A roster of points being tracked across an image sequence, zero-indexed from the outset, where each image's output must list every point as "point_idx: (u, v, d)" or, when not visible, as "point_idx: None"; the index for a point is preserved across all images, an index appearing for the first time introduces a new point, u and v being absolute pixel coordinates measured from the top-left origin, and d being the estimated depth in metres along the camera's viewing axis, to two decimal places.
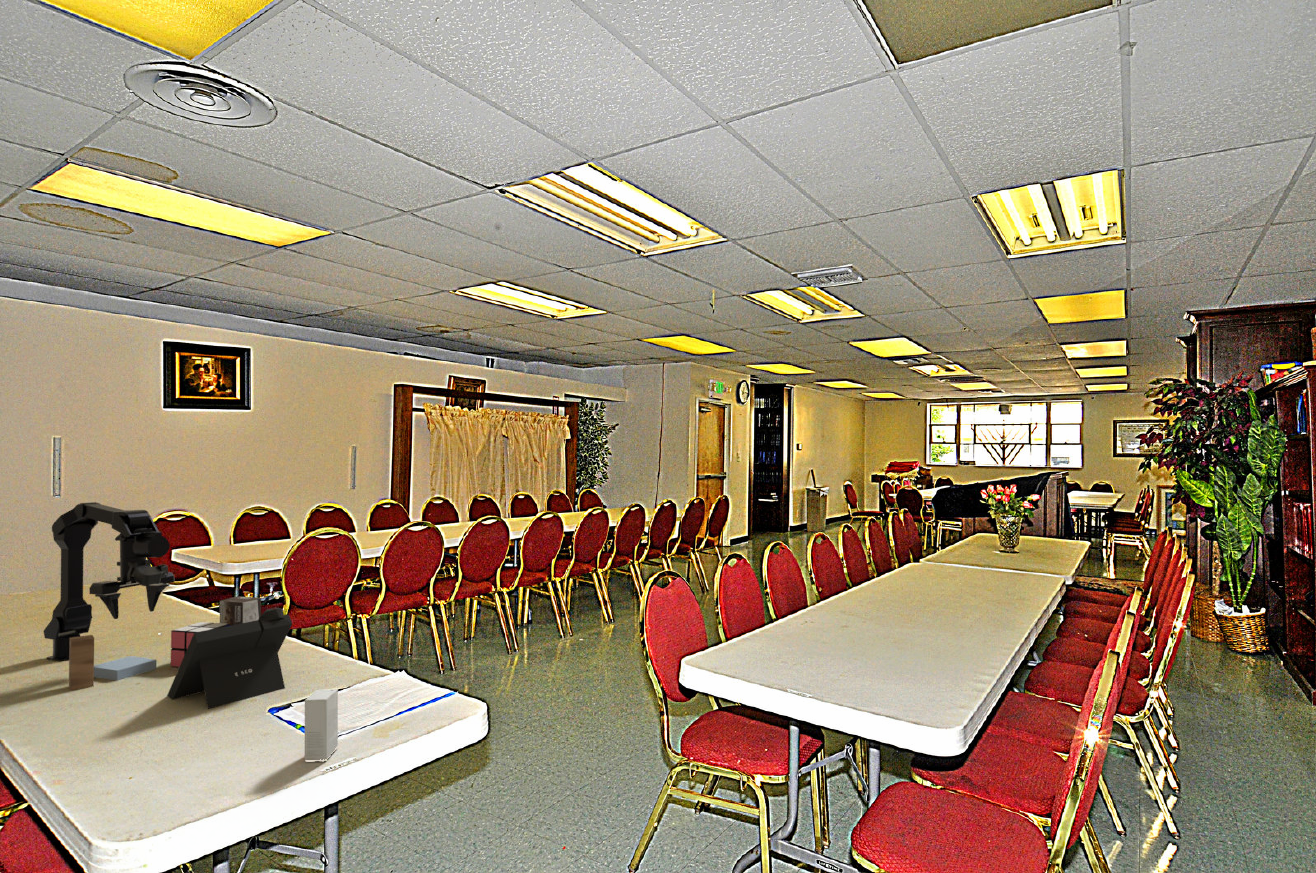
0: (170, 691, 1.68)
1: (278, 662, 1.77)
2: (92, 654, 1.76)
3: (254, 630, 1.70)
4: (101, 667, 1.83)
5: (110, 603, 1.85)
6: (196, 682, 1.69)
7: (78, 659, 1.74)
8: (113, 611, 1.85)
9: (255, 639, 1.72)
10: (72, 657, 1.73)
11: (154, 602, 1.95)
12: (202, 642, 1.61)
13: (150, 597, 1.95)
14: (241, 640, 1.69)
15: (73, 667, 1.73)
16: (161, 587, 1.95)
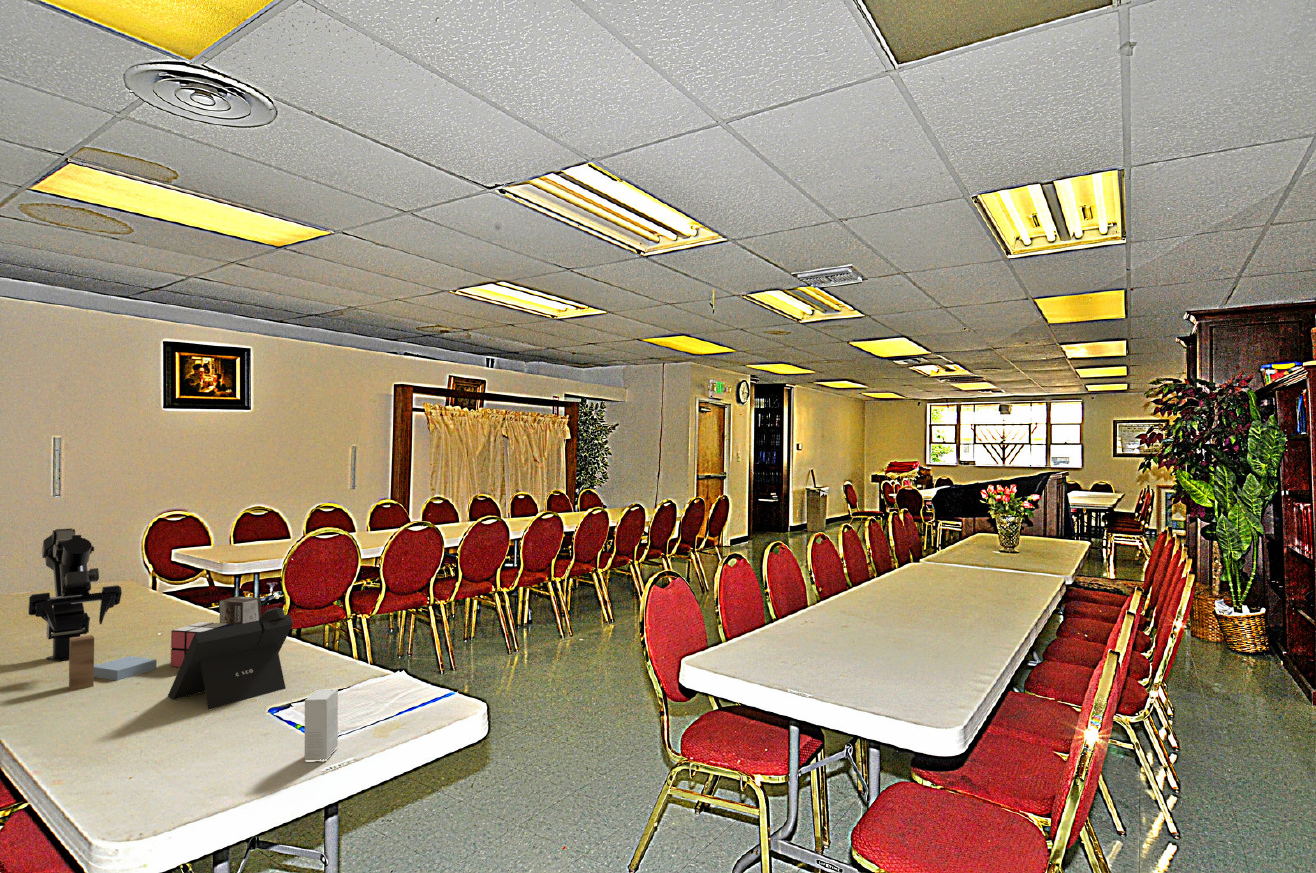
0: (171, 691, 1.68)
1: (279, 662, 1.76)
2: (92, 654, 1.76)
3: (255, 630, 1.70)
4: (101, 667, 1.83)
5: (48, 616, 1.80)
6: (196, 682, 1.68)
7: (78, 659, 1.74)
8: (50, 622, 1.79)
9: (256, 639, 1.72)
10: (72, 657, 1.73)
11: (101, 613, 1.86)
12: (203, 642, 1.61)
13: None
14: (242, 641, 1.69)
15: (73, 667, 1.73)
16: (104, 596, 1.88)
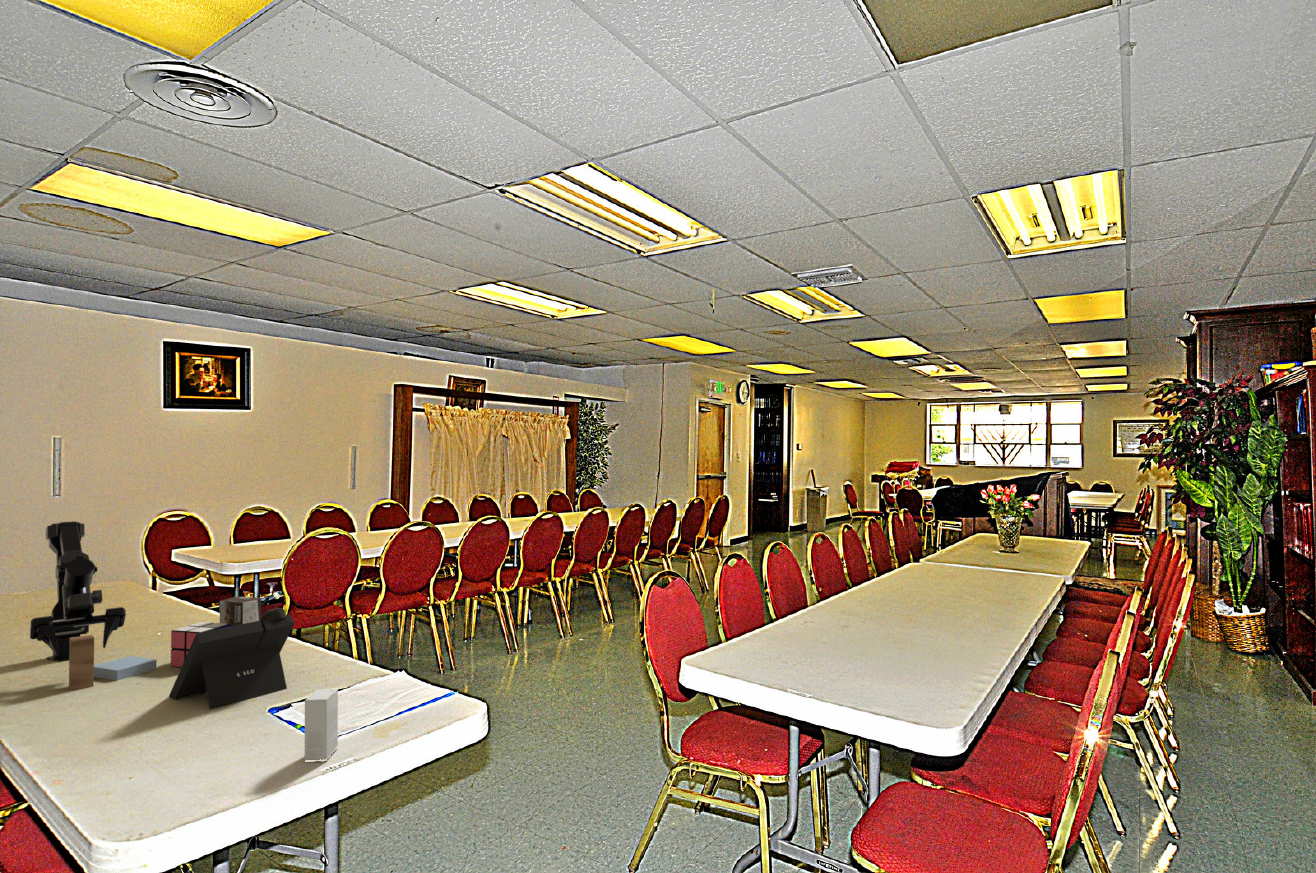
0: (172, 692, 1.68)
1: (280, 662, 1.76)
2: (92, 654, 1.76)
3: (256, 630, 1.70)
4: (101, 667, 1.83)
5: (50, 640, 1.75)
6: (197, 683, 1.68)
7: (78, 659, 1.74)
8: (52, 646, 1.74)
9: (257, 639, 1.72)
10: (72, 657, 1.73)
11: (105, 636, 1.81)
12: (205, 643, 1.61)
13: (104, 635, 1.83)
14: (243, 641, 1.69)
15: (73, 667, 1.73)
16: (108, 619, 1.83)
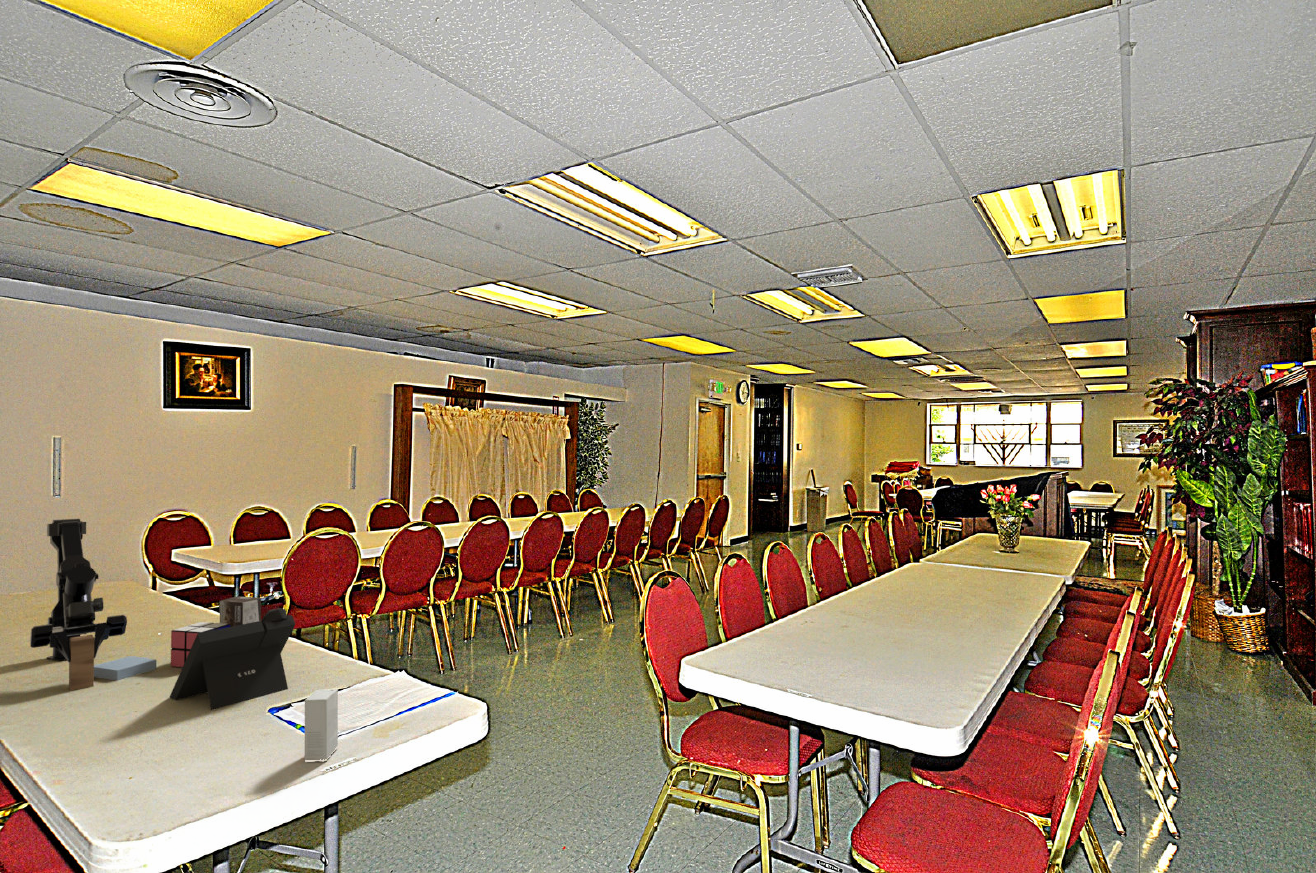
0: (173, 692, 1.67)
1: (281, 663, 1.76)
2: (92, 654, 1.76)
3: (257, 631, 1.70)
4: (101, 667, 1.83)
5: None
6: (198, 683, 1.68)
7: (78, 659, 1.74)
8: (65, 653, 1.74)
9: (258, 640, 1.72)
10: (72, 657, 1.73)
11: (95, 646, 1.78)
12: (206, 643, 1.60)
13: None
14: (244, 641, 1.69)
15: (73, 667, 1.73)
16: (98, 628, 1.80)
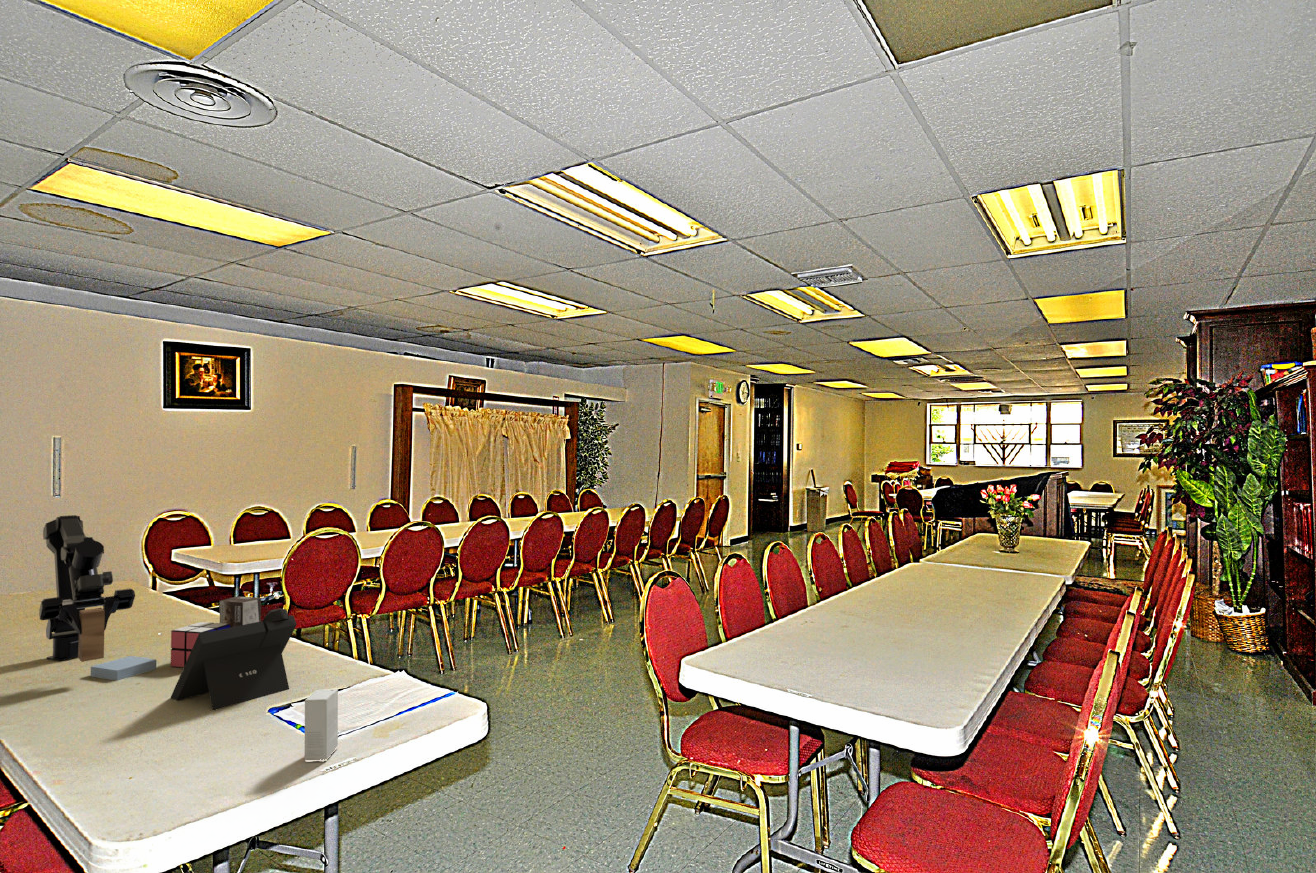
0: (174, 692, 1.67)
1: (282, 663, 1.76)
2: (102, 626, 1.78)
3: (258, 631, 1.69)
4: (101, 667, 1.83)
5: (72, 620, 1.77)
6: (200, 683, 1.68)
7: (89, 631, 1.76)
8: (75, 625, 1.76)
9: (259, 640, 1.71)
10: (83, 629, 1.75)
11: None
12: (207, 643, 1.60)
13: None
14: (246, 641, 1.68)
15: (84, 639, 1.76)
16: (107, 601, 1.82)
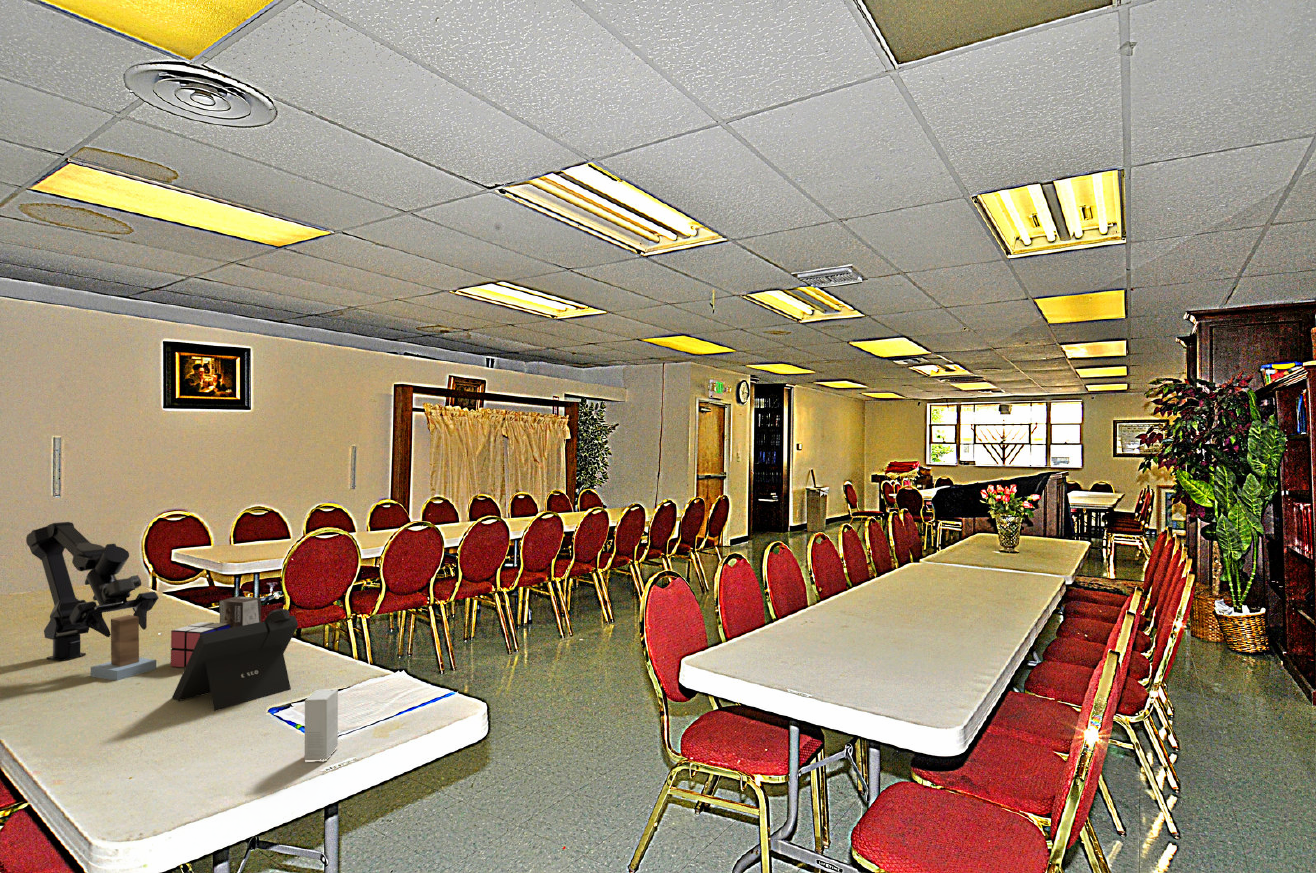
0: (175, 693, 1.67)
1: (284, 663, 1.76)
2: (137, 632, 1.87)
3: (260, 631, 1.69)
4: (101, 667, 1.83)
5: (97, 624, 1.83)
6: (201, 684, 1.67)
7: (126, 637, 1.85)
8: (103, 629, 1.82)
9: (261, 640, 1.71)
10: (121, 636, 1.84)
11: (143, 619, 1.91)
12: (209, 644, 1.60)
13: (139, 619, 1.92)
14: (247, 642, 1.68)
15: (122, 645, 1.84)
16: (143, 602, 1.92)
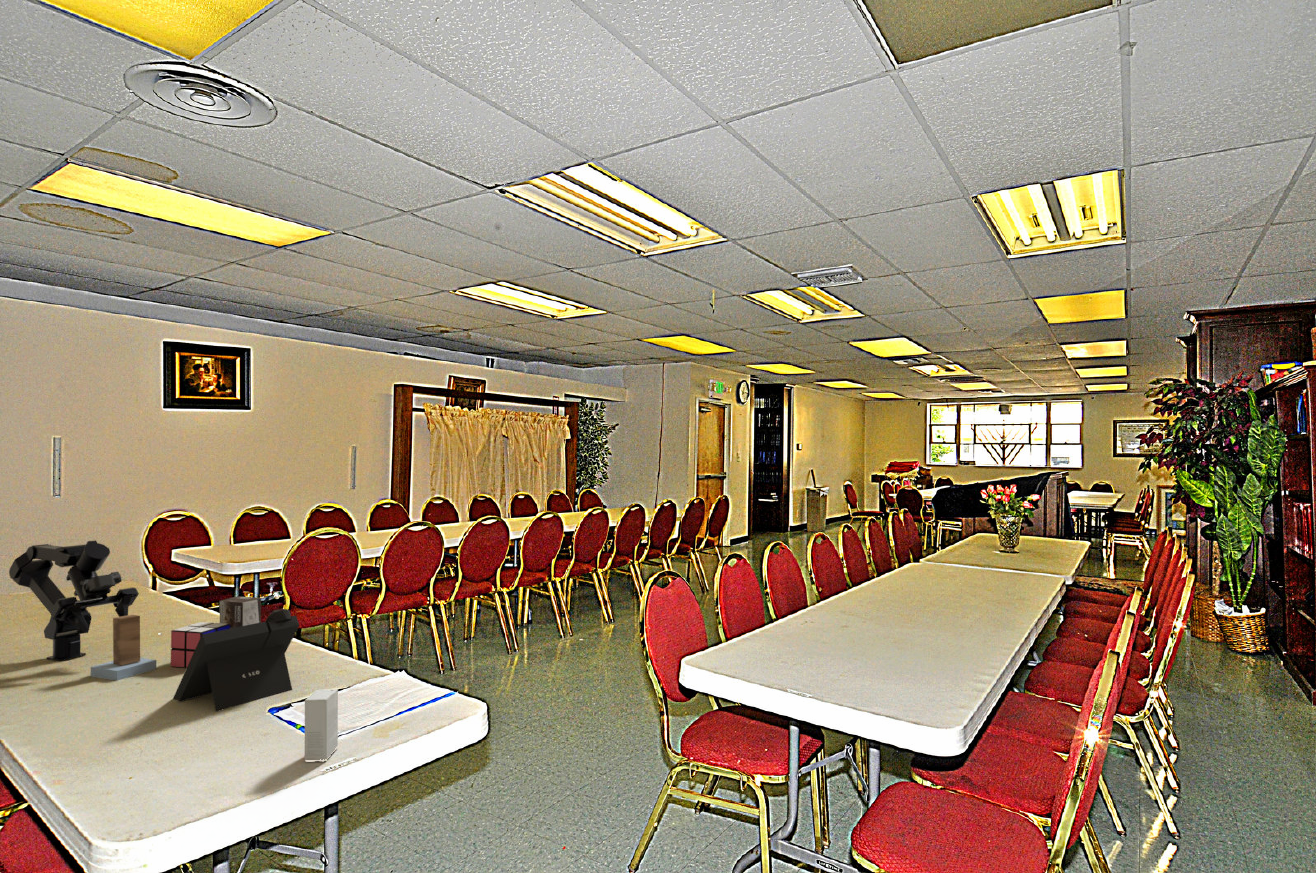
0: (176, 693, 1.67)
1: (285, 664, 1.75)
2: (138, 631, 1.88)
3: (262, 631, 1.69)
4: (101, 667, 1.83)
5: (76, 619, 1.87)
6: (202, 684, 1.67)
7: (127, 636, 1.86)
8: (81, 624, 1.87)
9: (262, 640, 1.71)
10: (121, 634, 1.85)
11: (125, 614, 1.96)
12: (210, 644, 1.60)
13: (121, 614, 1.97)
14: (249, 642, 1.68)
15: (123, 643, 1.85)
16: (125, 598, 1.97)
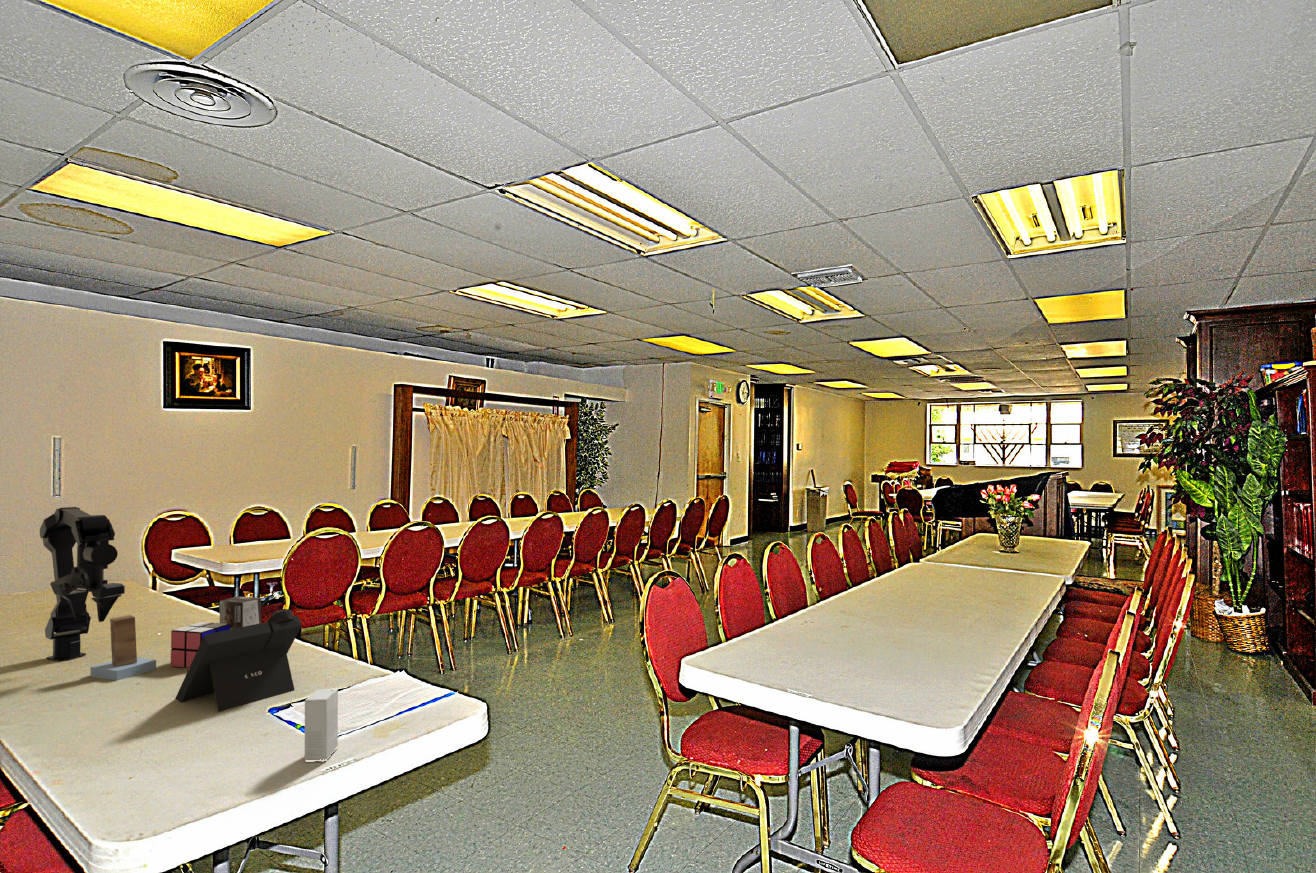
0: (178, 694, 1.66)
1: (287, 664, 1.75)
2: (134, 632, 1.87)
3: (264, 632, 1.69)
4: (101, 667, 1.83)
5: None
6: (204, 684, 1.67)
7: (122, 637, 1.85)
8: None
9: (265, 641, 1.71)
10: (116, 636, 1.84)
11: (98, 613, 1.88)
12: (213, 644, 1.59)
13: None
14: (251, 642, 1.68)
15: (118, 645, 1.84)
16: (93, 599, 1.86)
